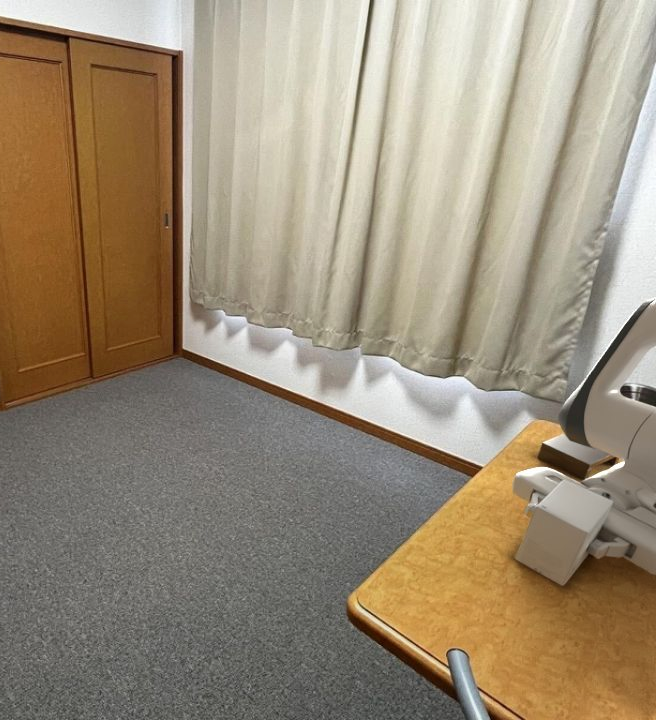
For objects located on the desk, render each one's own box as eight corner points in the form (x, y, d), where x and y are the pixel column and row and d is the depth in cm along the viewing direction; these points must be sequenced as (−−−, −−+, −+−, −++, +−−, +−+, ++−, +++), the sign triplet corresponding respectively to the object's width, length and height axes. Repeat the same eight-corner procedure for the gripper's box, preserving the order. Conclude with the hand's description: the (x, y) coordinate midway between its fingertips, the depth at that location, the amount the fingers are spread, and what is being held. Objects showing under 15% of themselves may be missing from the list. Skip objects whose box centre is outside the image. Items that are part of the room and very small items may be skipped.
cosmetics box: (564, 590, 66) (589, 532, 61) (512, 561, 70) (532, 505, 66) (591, 555, 71) (616, 500, 67) (541, 530, 76) (561, 477, 72)
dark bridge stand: (616, 466, 90) (623, 448, 89) (582, 482, 86) (589, 464, 85) (569, 445, 97) (575, 428, 96) (536, 459, 93) (542, 442, 91)
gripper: (547, 451, 81) (494, 473, 76) (710, 529, 64) (656, 565, 59) (536, 481, 83) (484, 504, 78) (690, 564, 66) (637, 601, 61)
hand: (559, 531), depth 68 cm, fingers closed on cosmetics box, 7 cm apart
